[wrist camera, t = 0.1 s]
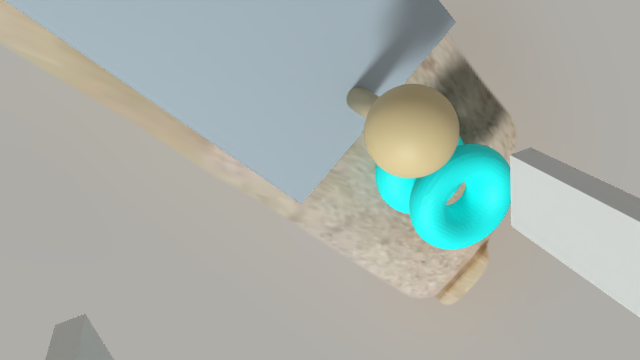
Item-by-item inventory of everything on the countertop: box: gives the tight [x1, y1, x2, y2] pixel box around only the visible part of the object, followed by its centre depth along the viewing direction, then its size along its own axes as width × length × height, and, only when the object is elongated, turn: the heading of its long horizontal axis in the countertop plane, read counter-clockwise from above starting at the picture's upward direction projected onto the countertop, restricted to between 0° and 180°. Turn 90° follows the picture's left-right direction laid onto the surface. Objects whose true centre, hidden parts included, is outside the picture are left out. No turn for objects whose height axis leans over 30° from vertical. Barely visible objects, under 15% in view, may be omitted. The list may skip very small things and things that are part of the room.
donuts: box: [376, 136, 511, 249], centre depth 43 cm, size 10×10×10 cm
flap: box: [5, 0, 459, 204], centre depth 22 cm, size 22×16×10 cm
